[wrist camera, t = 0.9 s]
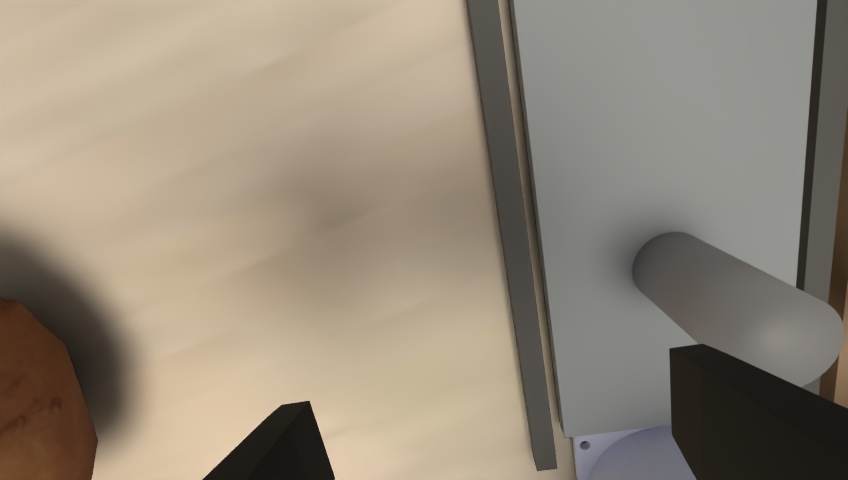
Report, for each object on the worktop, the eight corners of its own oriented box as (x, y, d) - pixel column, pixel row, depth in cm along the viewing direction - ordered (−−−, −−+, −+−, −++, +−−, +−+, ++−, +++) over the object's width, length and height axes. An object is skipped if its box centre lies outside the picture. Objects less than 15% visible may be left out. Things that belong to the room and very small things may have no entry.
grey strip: (773, 397, 20) (936, 539, 13) (560, 426, 21) (615, 571, 14) (816, -292, 12) (1223, -724, 6) (484, -202, 13) (527, -492, 7)
